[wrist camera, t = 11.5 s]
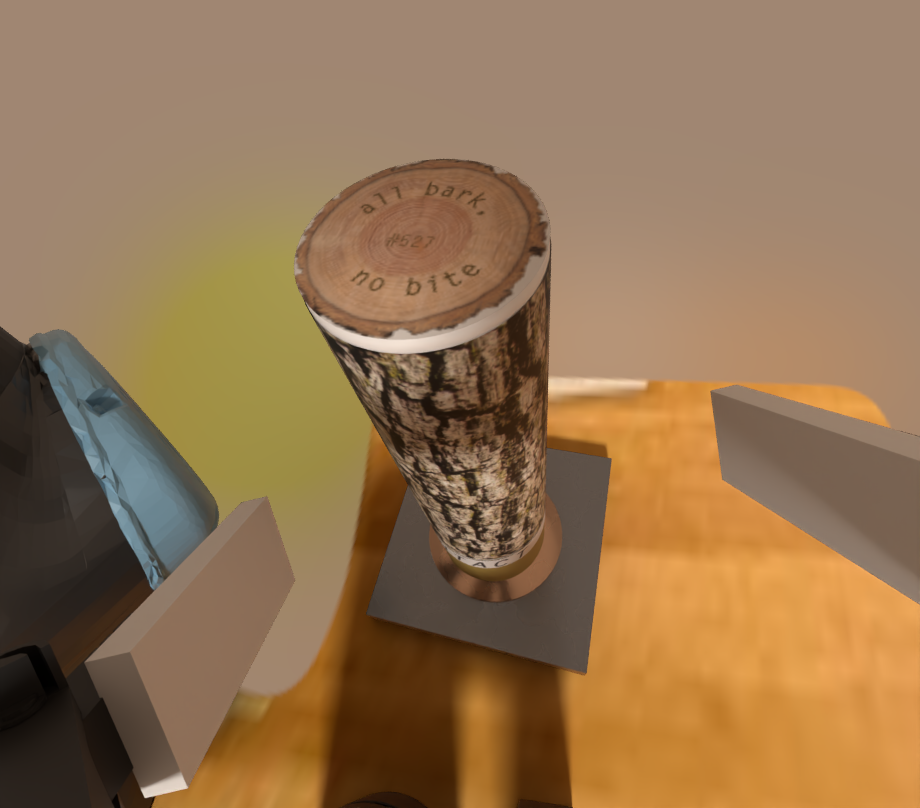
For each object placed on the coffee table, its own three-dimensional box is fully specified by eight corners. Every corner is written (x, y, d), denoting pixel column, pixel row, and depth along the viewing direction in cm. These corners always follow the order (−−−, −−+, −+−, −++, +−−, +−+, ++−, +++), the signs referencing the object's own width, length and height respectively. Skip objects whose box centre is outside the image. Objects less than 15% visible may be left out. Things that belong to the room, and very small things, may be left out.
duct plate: (372, 618, 34) (364, 613, 33) (430, 437, 41) (426, 426, 39) (584, 675, 31) (586, 673, 29) (609, 467, 38) (611, 457, 36)
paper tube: (459, 476, 37) (350, 154, 16) (553, 496, 35) (572, 163, 14) (431, 569, 34) (247, 321, 12) (533, 596, 32) (519, 360, 11)
